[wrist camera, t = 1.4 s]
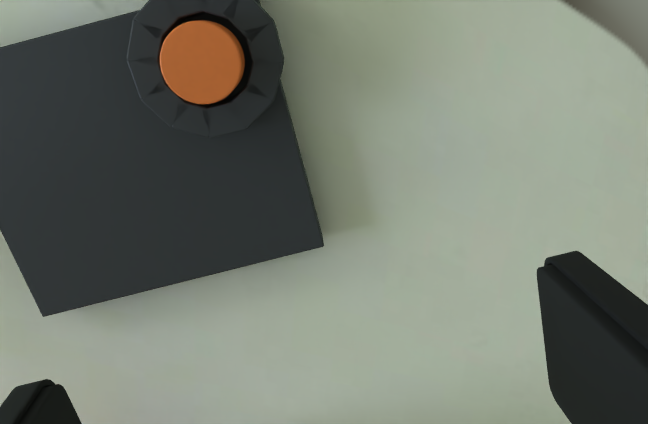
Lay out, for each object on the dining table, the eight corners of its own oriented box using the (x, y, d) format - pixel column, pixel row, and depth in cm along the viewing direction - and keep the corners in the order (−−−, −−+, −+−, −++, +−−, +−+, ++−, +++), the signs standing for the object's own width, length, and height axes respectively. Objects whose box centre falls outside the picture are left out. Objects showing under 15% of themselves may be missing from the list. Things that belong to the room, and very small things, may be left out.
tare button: (232, 11, 21) (227, 10, 20) (254, 88, 22) (251, 93, 21) (157, 31, 21) (147, 32, 20) (182, 107, 22) (175, 113, 21)
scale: (261, -32, 23) (257, -40, 20) (331, 233, 27) (335, 258, 24) (-64, 55, 23) (-113, 59, 21) (54, 303, 28) (27, 335, 25)
